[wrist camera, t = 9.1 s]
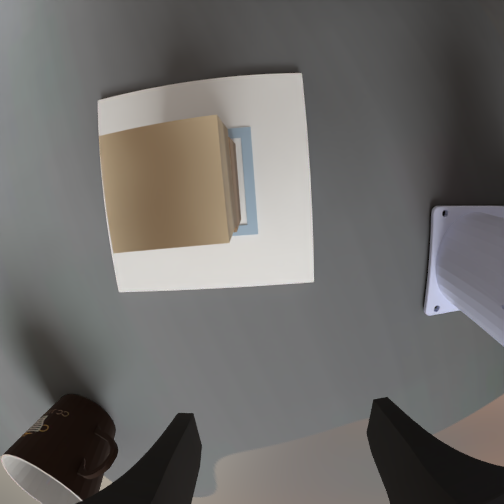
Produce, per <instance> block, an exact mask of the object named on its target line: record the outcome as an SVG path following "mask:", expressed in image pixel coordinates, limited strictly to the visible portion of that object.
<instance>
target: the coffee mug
mask: <svg viewBox="0 0 504 504" xmlns="http://www.w3.org/2000/svg"><path fill="white" fill-rule="evenodd" d="M115 432H116V429H115V425H114V423H113V421H112V419H111V417H110V416H109V415H108V414H107V413H106V411H104V410H103V409H102V408H101V407H100V406H99V405H97V404H96V403H95V402H93V401H91V400H90V399H87V398H85V397H83V396H80V395H76V394H67V395H64V396H63V397H62V398H61V399H60V400H58V401H57V402H56V403H55V404H54V405H53V406H52V407H51V408H50V409H49V410H48V411H47V412H46V413H45V414H44V415H43V416H42V417H41V418H40V419H39V420H38V421H37V422H36V423H35V424H34V425H33V426H32V427H31V428H30V429H29V430H27V431H26V432H25V433H24V434H23V435H22V436H21V437H20V438H19V439H18V440H17V441H16V442H15V443H14V444H13V445H12V446H11V447H10V448H9V449H8V450H7V451H6V452H5V453H4V454H3V455H2V457H1V462H2V465H3V467H4V469H5V470H6V472H7V473H8V474H9V476H10V477H11V478H12V479H13V480H14V481H15V483H16V484H18V486H20V487H21V488H22V489H23V490H24V491H25V492H26V493H28V494H29V495H30V496H31V497H33V498H34V499H35V500H37V501H38V502H40V503H42V504H76V503H78V502H80V501H83V500H85V499H87V498H89V497H90V496H92V495H94V494H96V493H98V492H99V489H100V486H101V482H102V478H103V475H104V472H106V471H107V470H108V469H109V468H110V467H111V465H112V464H113V462H114V460H115V459H116V457H117V454H118V446H117V444H116V442H115V441H114V436H115Z"/></svg>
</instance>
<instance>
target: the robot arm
mask: <svg viewBox="0 0 504 504" xmlns="http://www.w3.org/2000/svg"><path fill="white" fill-rule="evenodd" d="M444 210H445V215H444V216H443V215H442V213H443V211H444ZM435 306H437V308H436V309H435V310H434V308H435ZM458 310H461V311H462V312H463V313H464V314H465V315H467V316H468V317H469V318H470V319H472V320H473V321H474V322H475V323H477V324H478V325H479V326H480V327H481V328H483V329H484V330H485V331H486V332H487V333H489V334H490V335H491V336H492V337H493V338H494V339H496V340H497V341H498V342H499V343H500V344H501V345H503V346H504V206H435V207H434V208H433V209H432V212H431V236H430V253H429V266H428V277H427V287H426V295H425V303H424V312H425V313H426V314H427V315H436V314H441V313H447V312H453V311H458ZM367 437H368V441H369V445H370V449H371V452H372V456H373V458H374V461H375V463H376V466H377V468H378V471H379V473H380V476H381V478H382V481H383V484H384V486H385V489H386V491H387V494H388V497H389V501H390V504H504V467H502V466H497V465H494V464H490V463H487V462H484V461H481V460H478V459H475V458H473V457H470V456H468V455H465V454H464V453H461V452H459V451H457V450H455V449H454V448H452V447H450V446H448V445H447V444H445V443H443V442H442V441H440V440H438V439H437V438H435V437H434V436H433V435H431V434H430V433H428V432H427V431H426V430H425V429H423V428H422V427H421V426H420V425H418V424H417V423H416V422H415V421H413V420H412V419H411V418H410V417H409V416H408V415H407V414H405V413H404V412H403V411H402V410H401V409H400V408H399V407H398V406H397V405H395V404H394V403H393V402H392V401H391V400H390V399H389V398H388V397H385V398H380V399H374V400H373V404H372V409H371V414H370V419H369V424H368V429H367ZM201 449H202V444H201V441H200V437H199V433H198V430H197V426H196V422H195V418H194V414H193V413H178V414H177V415H176V416H175V418H174V419H173V421H172V422H171V423H170V425H169V426H168V427H167V429H166V430H165V431H164V433H163V434H162V435H161V436H160V438H159V439H158V440H157V441H156V442H155V444H154V445H153V446H152V447H151V448H150V450H149V451H148V452H147V453H146V454H145V455H144V456H143V457H142V458H141V459H140V460H139V461H138V462H137V463H136V464H135V465H134V466H133V467H132V468H131V469H130V470H128V471H127V472H126V473H125V474H124V475H122V476H121V477H120V478H119V479H117V480H116V481H115V482H113V483H112V484H111V485H109V486H107V487H106V488H104V489H103V490H101V491H99V492H98V493H96V494H94V495H92V496H90V497H89V498H87V499H85V500H83V501H80V502H78V503H76V504H191V502H192V498H193V494H194V489H195V485H196V481H197V477H198V472H199V468H200V460H201Z"/></svg>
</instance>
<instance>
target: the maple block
mask: <svg viewBox="0 0 504 504" xmlns="http://www.w3.org/2000/svg"><path fill="white" fill-rule="evenodd" d="M99 146H100V158H101V169H102V178H103V187H104V196H105V203H106V211H107V217H108V224H109V230H110V237H111V242H112V248H113V253H123V252H134V251H145V250H156V249H167V248H178V247H189V246H201V245H212V244H224V243H230V240H231V237H232V235H233V232H234V230H235V227H236V225H237V222H236V212H235V202H234V192H233V181H232V170H231V160H230V149H229V138H228V129H227V128H226V126H225V125H224V123H223V122H222V121H221V119H220V118H219V117H218V115H210V116H202V117H195V118H188V119H182V120H175V121H169V122H164V123H158V124H153V125H147V126H142V127H137V128H133V129H128V130H123V131H119V132H114V133H110V134H106V135H102V136H99Z"/></svg>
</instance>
